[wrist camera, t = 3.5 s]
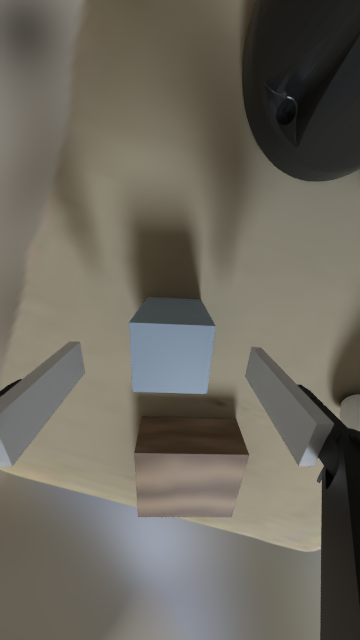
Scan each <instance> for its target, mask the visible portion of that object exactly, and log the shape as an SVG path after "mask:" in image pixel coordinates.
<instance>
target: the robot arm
mask: <svg viewBox="0 0 360 640" xmlns="http://www.w3.org/2000/svg"><path fill="white" fill-rule="evenodd" d="M243 91H244V100H245V107H246V112H247V116H248V120H249V123H250V127H251V130H252V132H253V135H254V137H255V139H256V141H257V143H258V145H259V147H260V148H261V150H262V151H263V153H264V154H265V156H266V157H267V158H268V159H269V160H270V161H271V162H272V163H273V164H274V165H275V166H276V167H277V168H278V169H280V170H281V171H282V172H284V173H286V174H288V175H290V176H292V177H294V178H297V179H301V180H305V181H328V180H333V179H337V178H340V177H343V176H345V175H348V174H350V173H352V172H354V171H356V170H358V169H360V0H256V3H255V6H254V9H253V13H252V16H251V20H250V24H249V28H248V33H247V38H246V44H245V51H244V61H243ZM84 373H85V370H84V363H83V357H82V351H81V344H80V342H68V343H67V344H66V345H65V346H63V347H62V348H61V349H60V350H58V351H57V352H56V353H55V354H53V355H52V356H51V357H50V358H49V359H47V360H46V361H45V362H44V363H42V364H41V365H40V366H39V367H37V368H36V369H35V370H34V371H32V372H31V373H30V374H29V375H27V376H26V377H25V378H24V379H19V380H17V381H15V382H14V383H12V384H10V385H8V386H6V387H5V388H4V389H3V390H1V391H0V466H13V465H14V464H15V462H16V461H17V460H18V458H19V457H20V456H21V455H22V453H23V452H24V451H25V449H26V448H27V447H28V446H29V444H30V443H31V442H32V440H33V439H34V438H35V437H36V435H37V434H38V433H39V431H40V430H41V429H42V428H43V426H44V425H45V424H46V422H47V421H48V420H49V418H50V417H51V416H52V415H53V413H54V412H55V411H56V409H57V408H58V407H59V406H60V404H61V403H62V402H63V400H64V399H65V398H66V397H67V395H68V394H69V393H70V391H71V390H72V389H73V388H74V386H75V385H76V384H77V382H78V381H79V380H80V379H81V377H82V376H83V375H84ZM245 377H246V379H247V380H248V382H249V384H250V385H251V387H252V389H253V390H254V392H255V394H256V395H257V397H258V399H259V400H260V402H261V404H262V405H263V407H264V409H265V410H266V412H267V414H268V416H269V417H270V419H271V421H272V422H273V424H274V426H275V427H276V429H277V431H278V432H279V434H280V436H281V437H282V439H283V441H284V442H285V444H286V446H287V447H288V449H289V451H290V452H291V454H292V456H293V457H294V459H295V461H296V462H297V464H298V466H314V465H315V463H316V461H317V459H318V458H319V459H320V460H321V462H322V463H323V464H324V467H323V469H322V471H321V473H320V475H319V477H318V479H317V482H319V483H320V482H321V480H322V527H321V633H320V640H360V431H357V430H355V429H351V428H347V427H346V426H345V425H344V424H343V423H342V422H341V421H340V420H339V419H338V418H337V417H336V416H335V415H334V414H333V413H332V412H331V411H330V410H329V409H328V408H327V407H326V406H325V405H323V403H322V402H321V401H320V400H319V399H317V397H316V396H315V395H314V394H313V393H312V392H311V391H310V390H308V389H306V388H305V387H303V386H302V385H297V384H296V383H295V382H294V381H293V380H292V379H291V378H290V377H289V376H288V375H287V374H286V373H285V372H284V371H283V370H282V369H281V368H280V367H279V366H278V365H277V364H276V363H275V362H274V361H273V360H272V358H271V357H270V356H269V355H268V354H267V353H266V352H265V351H264V350H263V349H262V348H257V347H251V352H250V357H249V361H248V366H247V371H246V375H245Z"/></svg>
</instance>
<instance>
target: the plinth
mask: <svg viewBox="0 0 360 640" xmlns="http://www.w3.org/2000/svg"><path fill="white" fill-rule="evenodd" d="M134 455H135V472H136V490H137V507H138V517H232V514H233V510H234V507H235V503H236V500H237V496H238V493H239V489H240V486H241V482H242V478H243V475H244V471H245V468H246V464H247V461H248V457H249V453H248V450H247V448H246V445H245V442H244V439H243V437H242V434H241V431H240V428H239V426H238V423H237V420H236V419H212V418H169V417H142V420H141V425H140V429H139V434H138V439H137V443H136V448H135V453H134Z"/></svg>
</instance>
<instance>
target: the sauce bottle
mask: <svg viewBox="0 0 360 640" xmlns="http://www.w3.org/2000/svg"><path fill="white" fill-rule="evenodd" d="M340 419H341V422H342V423H343V424H344V425H345V426H346V427H347V428H351V429H355V430H357V431H360V395H359V394H357V395H352V396H349V397H347V398H345V399H344V400H343V401H342V403H341V406H340Z"/></svg>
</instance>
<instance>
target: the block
mask: <svg viewBox="0 0 360 640" xmlns="http://www.w3.org/2000/svg"><path fill="white" fill-rule="evenodd" d="M215 327H216V326H215V324H214V322H213V320H212V319H211V317H210V315H209V313H208V311H207V310H206V308H205V306H204V304H203V302H202V301H201V299H182V298H160V297H147V298H146V300H145V301H144V303H143V304H142V305H141V307H140V308H139V309H138V311H137V312H136V314H135V315H134V316H133V318H132V319H131V321H130V322H129V329H130V348H131V367H132V386H133V392H157V393H193V394H207V388H208V380H209V372H210V365H211V357H212V350H213V342H214V335H215Z"/></svg>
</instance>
